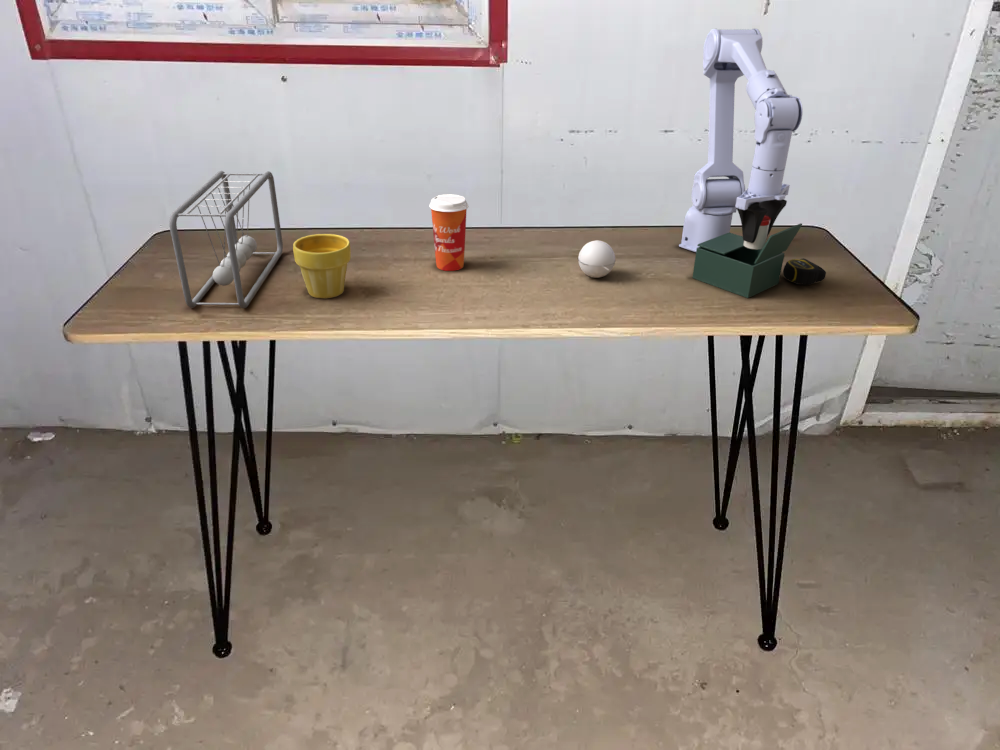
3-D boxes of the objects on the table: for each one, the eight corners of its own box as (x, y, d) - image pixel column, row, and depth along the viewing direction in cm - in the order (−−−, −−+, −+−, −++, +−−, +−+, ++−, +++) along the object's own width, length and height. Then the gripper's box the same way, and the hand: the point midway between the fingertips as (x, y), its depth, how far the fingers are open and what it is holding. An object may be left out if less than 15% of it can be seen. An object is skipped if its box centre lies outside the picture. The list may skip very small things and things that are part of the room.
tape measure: (825, 286, 152) (829, 268, 150) (795, 289, 150) (799, 272, 148) (803, 273, 158) (807, 255, 156) (774, 276, 156) (778, 259, 154)
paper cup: (424, 269, 157) (422, 202, 150) (441, 256, 163) (439, 191, 156) (459, 275, 154) (458, 207, 147) (475, 262, 161) (475, 196, 154)
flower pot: (363, 285, 150) (359, 236, 145) (337, 306, 141) (332, 255, 136) (317, 277, 153) (311, 230, 148) (288, 298, 144) (281, 248, 139)
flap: (784, 249, 149) (786, 250, 149) (753, 262, 143) (755, 263, 143) (801, 223, 145) (802, 224, 145) (770, 235, 139) (771, 236, 139)
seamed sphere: (573, 269, 158) (576, 235, 154) (609, 269, 158) (612, 234, 155) (582, 289, 149) (584, 253, 146) (620, 288, 150) (623, 252, 146)
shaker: (757, 251, 145) (762, 222, 142) (738, 245, 147) (743, 216, 145) (769, 246, 147) (775, 217, 144) (750, 240, 150) (755, 212, 147)
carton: (778, 283, 153) (785, 249, 149) (747, 298, 147) (754, 262, 143) (723, 264, 161) (728, 232, 157) (692, 278, 155) (697, 244, 151)
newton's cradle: (245, 312, 139) (228, 216, 130) (186, 312, 138) (166, 216, 130) (284, 251, 165) (273, 168, 156) (235, 251, 164) (220, 168, 156)
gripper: (765, 178, 133) (752, 253, 140) (809, 164, 141) (794, 235, 148) (730, 170, 138) (719, 242, 144) (775, 157, 146) (762, 226, 153)
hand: (755, 238), depth 147 cm, fingers closed on shaker, 4 cm apart
